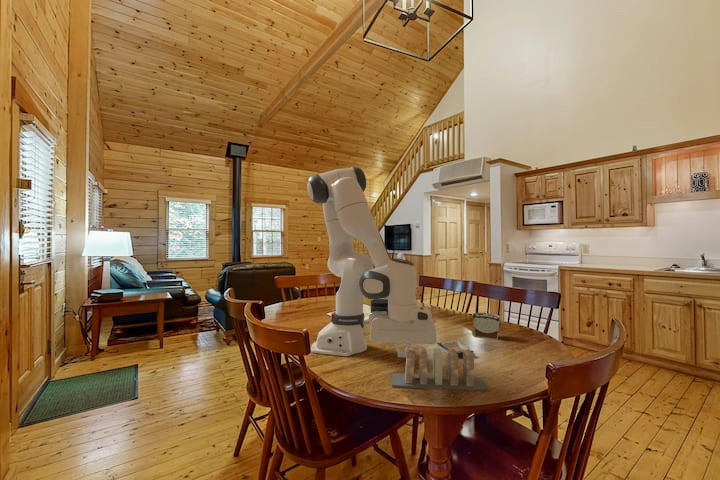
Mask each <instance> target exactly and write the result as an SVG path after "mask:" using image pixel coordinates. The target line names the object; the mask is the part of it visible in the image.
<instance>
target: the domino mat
mask: <svg viewBox="0 0 720 480" xmlns="http://www.w3.org/2000/svg"><path fill="white" fill-rule="evenodd" d="M391 387H392V388H403V389H404V388H405V389H428V390H429V389H430V390H431V389H432V390H448V391H449V390H453V391H473V392H474V391H475V392H490V387H489V386H488V385H487V383H486V382H485V380H484V378H483V377H482V376H474V386H467V385H466V383H465V381H464V379H463V375H458V386H457V385H451V383H450V381H449V378H448V375H442V385H435V381H434V378H433V374H427V384H420V379H419V374H415V373H413V379H412V384H411V383H405V373H391Z"/></svg>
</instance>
